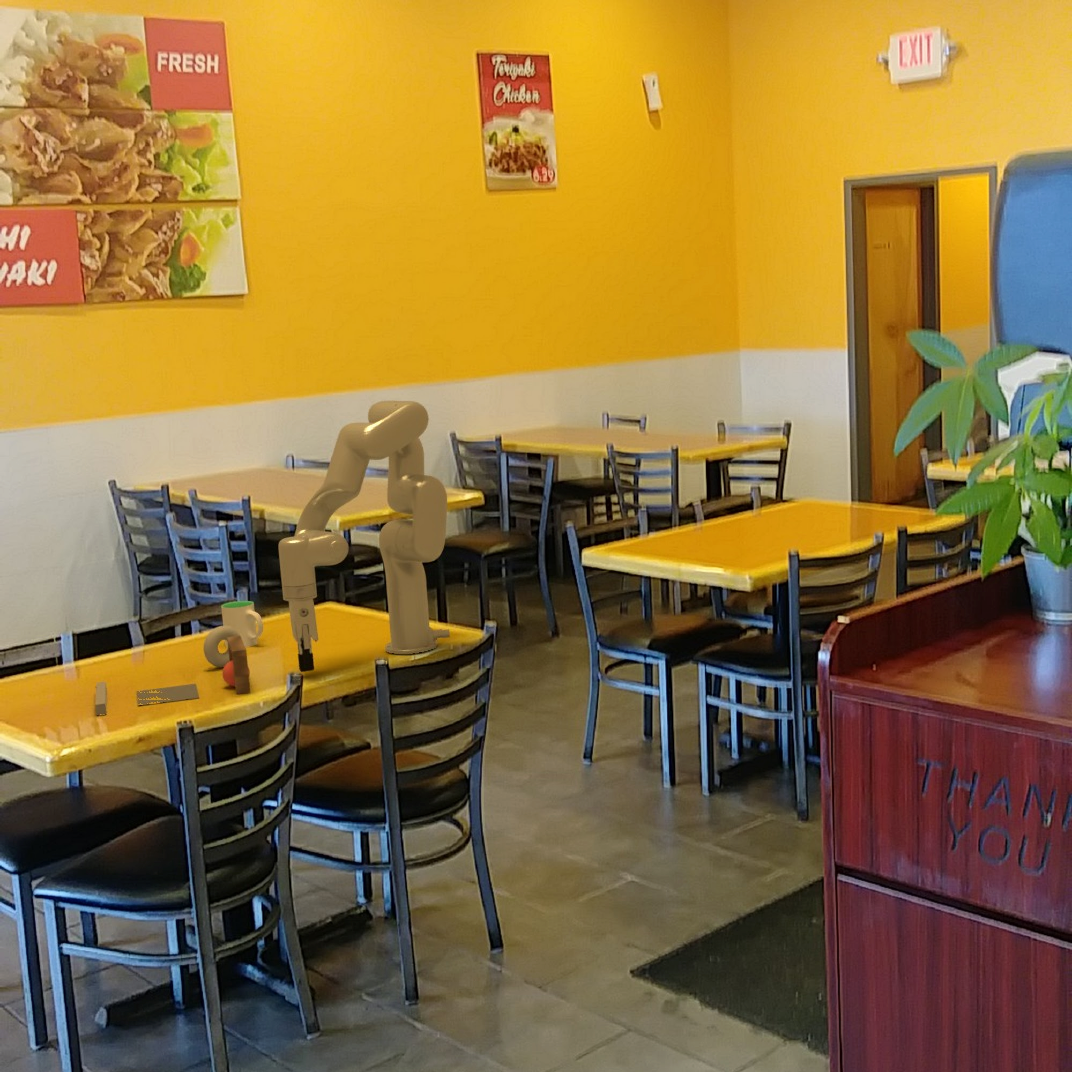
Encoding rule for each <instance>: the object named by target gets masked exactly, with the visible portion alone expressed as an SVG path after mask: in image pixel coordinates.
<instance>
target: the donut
mask: <svg viewBox="0 0 1072 1072" xmlns="http://www.w3.org/2000/svg"><path fill="white" fill-rule="evenodd" d="M236 636H240V635H239V633H238V631H236V630H235V629H234V628H232V627H229V626H223V625H220V626H216V627H215V628H213V629H212V630H211V631H210V632H209V633H208V634H207V635H206V637H205V640H204V643H203V653H204V657H205V659H206V661H207V662H208V663H209V664H211V665H212V666H213V667H217V668H224V666H225V665H226V664H227V663H228V662H230V660H229V650H228V648H227V649H226V650H225V652H223V653H222V652H220V651H219V644H220V643H221V642H222V641H225V640H226V641H227V638H228V637H236ZM227 642H228V641H227Z"/></svg>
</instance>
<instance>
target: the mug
mask: <svg viewBox="0 0 1072 1072" xmlns="http://www.w3.org/2000/svg"><path fill="white" fill-rule="evenodd" d="M220 607H221V616H222V626H229V627H232V628H234V629H235V630H236V631H238V633H239V635H240V636H241V638H242V641H243V643H244V646H245V648H250V647H253V646H256V645H257V644H258V643H259V642H258V638H259V637H261V636H262V635H263V631H264V621H263V618H262V617H261V615H260V614H259V613H258V612H256V611H255V603H254V601H252V600H251V601H250V600H239V601H231V602H226V603H223V604H221V606H220ZM256 624H257V625H256ZM224 646H227V647H228V642H227V641H226V640H224ZM227 647H226V648H227Z"/></svg>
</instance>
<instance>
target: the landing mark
mask: <svg viewBox="0 0 1072 1072" xmlns="http://www.w3.org/2000/svg"><path fill="white" fill-rule="evenodd" d="M151 690H152V691H153V692H154V691H155V690H156V691H157V692H159V691H160V692H159V693H149V691H150V692H151ZM139 691H140V692H142V693H140V692H139ZM144 692H145V693H144ZM147 692H148V693H147ZM161 692H162V693H161ZM156 696H157V697H158V698H161V699H163V700H146V698H147V699H148V698H149V699H151V698H153V697H154V698H156ZM150 697H151V698H150ZM136 698H137V699H138V698H139V699H142V700H139V699H138V700H137V699H136V701H137V705H138V704H140V703H141V704H143V705H145V706H147V705H146V704H147V703H148V704H149V703H151V702H153V703H154V702H156V703H157V701H158V702H160V704H164V703H163V702H168V703H173V702H172V701H175V702H181V701H182V700H183V701H187V700H186V699H190V700H195V699H196V698H198V699H200V696H199V692H198V687H197V683H189V684H183V685H181V684H180V685H176V686H175V685H174V686H168V687H160V688H159V687H158V688H150V689H144V690H136ZM167 698H168V699H170V700H168V699H167ZM143 699H145V700H143ZM156 699H157V698H156ZM164 699H166V700H164ZM196 700H197V699H196Z"/></svg>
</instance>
